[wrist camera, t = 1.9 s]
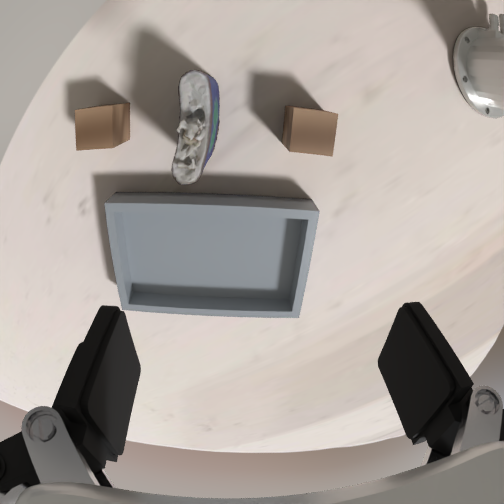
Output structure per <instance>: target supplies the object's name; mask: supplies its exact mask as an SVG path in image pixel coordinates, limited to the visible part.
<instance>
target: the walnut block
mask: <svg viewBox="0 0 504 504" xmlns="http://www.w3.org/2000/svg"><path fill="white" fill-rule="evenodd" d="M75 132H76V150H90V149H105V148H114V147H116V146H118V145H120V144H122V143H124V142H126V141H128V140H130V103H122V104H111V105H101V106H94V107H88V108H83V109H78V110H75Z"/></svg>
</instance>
